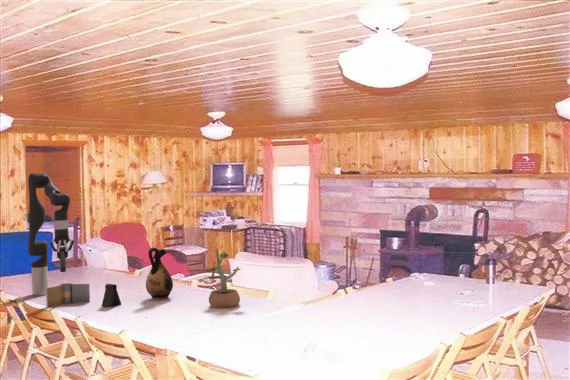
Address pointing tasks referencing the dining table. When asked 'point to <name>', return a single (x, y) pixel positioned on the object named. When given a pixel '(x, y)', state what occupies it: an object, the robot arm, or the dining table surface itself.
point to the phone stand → (111, 296)
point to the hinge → (67, 294)
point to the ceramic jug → (158, 277)
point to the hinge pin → (62, 259)
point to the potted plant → (223, 287)
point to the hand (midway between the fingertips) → (62, 258)
